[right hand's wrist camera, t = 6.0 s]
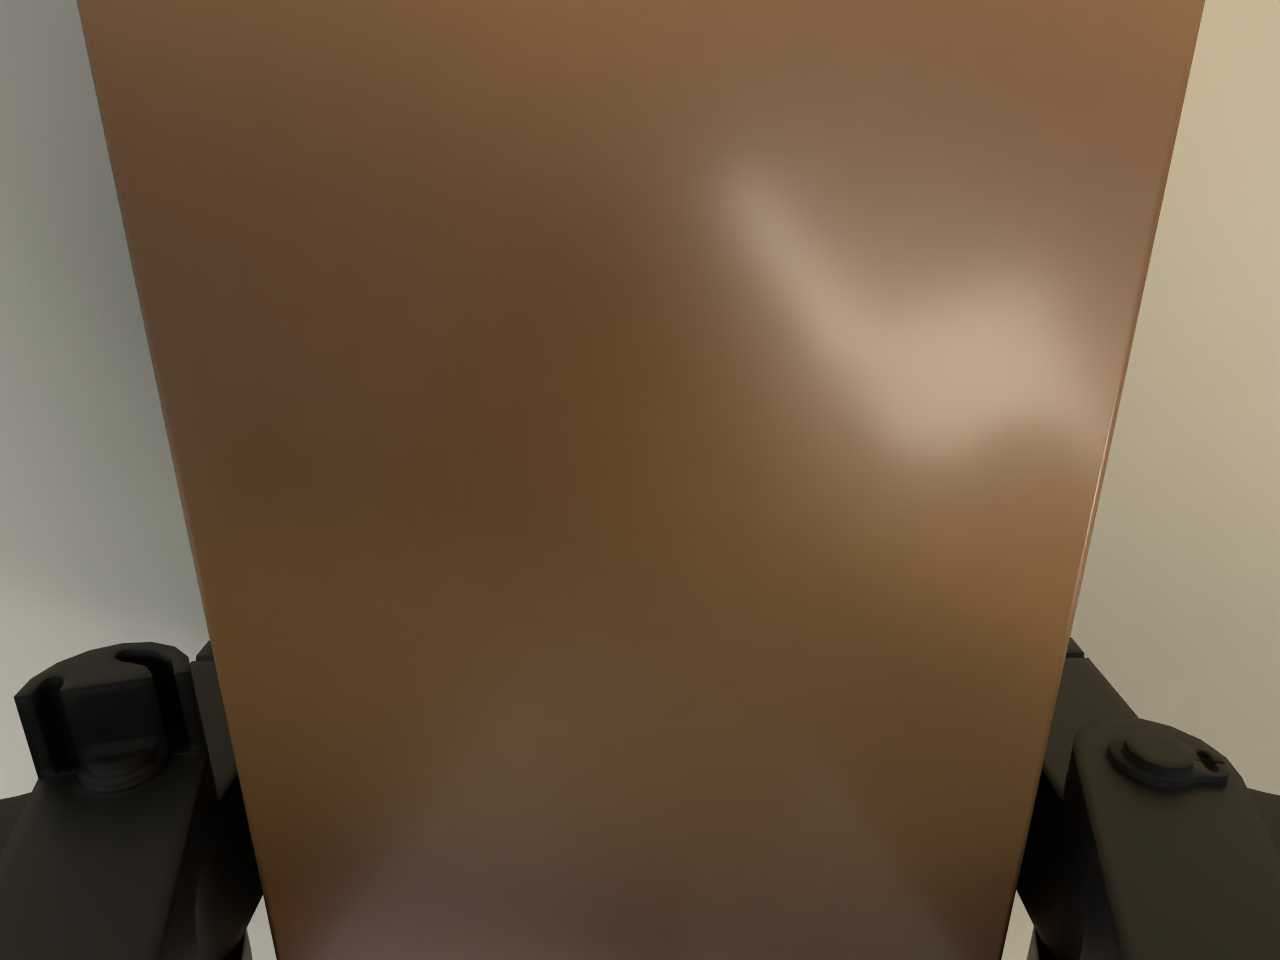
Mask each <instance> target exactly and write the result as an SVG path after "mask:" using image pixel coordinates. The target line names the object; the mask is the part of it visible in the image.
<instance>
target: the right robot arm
mask: <svg viewBox="0 0 1280 960" xmlns="http://www.w3.org/2000/svg"><path fill="white" fill-rule="evenodd" d="M14 700H15V703H16V706H17V710H18V713H19V716H20V719H21V723H22V726H23V729H24V733H25V736H26V739H27V742H28V746H29V749H30V752H31V756H32V759H33V762H34V766H35V769H36V772H37V775H38V781H37V783H36V785H35V787H34V789H33V791H32V792H31V793H27V794H23V795H20V796H16V797H11V798H6V799H1V800H0V960H252V953H251V947H250V942H249V938H248V933H247V926H248V924H249V922H250V920H251V918H252V916H253V914H254V912H255V910H256V908H257V906H258V904H259V902H260V900H261V898H262V895H263V891H262V886H261V881H260V877H259V872H258V867H257V862H256V857H255V853H254V848H253V843H252V838H251V833H250V829H249V824H248V819H247V814H246V809H245V805H244V800H243V795H242V790H241V785H240V781H239V776H238V771H237V766H236V761H235V757H234V752H233V747H232V742H231V737H230V733H229V728H228V723H227V718H226V714H225V709H224V704H223V699H222V694H221V690H220V685H219V680H218V675H217V670H216V666H215V661H214V656H213V651H212V646H211V642H210V641H208V642H207V644H206V645H205V646H204V647H203V648H202V650H201V651H200V652H199V653H198V654H197V656H196V661H192V662H191V663H189V658H188V656H187V655H185V654H184V653H183V652H181V651H180V650H179V649H177V648H176V647H174V646H169V645H164V644H159V643H154V642H141V643H121V644H117V645H112V646H108V647H103V648H98V649H94V650H89V651H87V652H84V653H82V654H79V655H76V656H74V657H71V658H69V659H66V660H63V661H61V662H58V663H56V664H55V665H53V666H51V667H50V668H48V669H46V670H45V671H43V672H41V673H40V674H38V675H37V676H35V677H33V678H32V679H30V680H29V681H28V682H27V683H26V685H25V686H24V687H23V688H22V689H21V690H20V691H19V692H18V693H17V694H16V695H15V696H14ZM1016 890H1017V892H1018V894H1019V896H1020V898H1021V900H1022V902H1023V904H1024V906H1025V908H1026V910H1027V912H1028V914H1029V916H1030V918H1031V920H1032V923H1033V925H1034V928H1033V933H1032V938H1031V942H1030V947H1029V952H1028V956H1027V960H1280V796H1279V795H1275V794H1270V793H1265V792H1261V791H1257V790H1253V789H1249V788H1247V787H1246V785H1245V783H1244V781H1243V779H1242V777H1241V776H1240V775H1239V773H1238V772H1237V771H1236V769H1235V768H1234V767H1233V766H1232V764H1231V763H1230V762H1229V761H1228V759H1227V758H1226V757H1224V756H1223V755H1222V754H1220V753H1219V752H1217V751H1216V750H1215V749H1213V748H1212V747H1210V746H1209V745H1208V744H1206V743H1205V742H1203V741H1202V740H1200V739H1198V738H1196V737H1194V736H1191V735H1189V734H1187V733H1185V732H1182V731H1180V730H1178V729H1176V728H1173V727H1171V726H1167V725H1164V724H1160V723H1156V722H1152V721H1148V720H1144V719H1140V718H1138V717H1137V715H1136V714H1135V713H1134V712H1133V711H1132V709H1131V708H1130V707H1129V706H1128V705H1127V704H1126V702H1125V701H1124V700H1123V699H1122V698H1121V696H1120V695H1119V694H1118V693H1117V692H1116V690H1115V689H1114V688H1113V687H1112V686H1111V684H1110V683H1109V682H1108V681H1107V680H1106V678H1105V677H1104V676H1103V675H1102V674H1101V673H1100V671H1099V670H1098V669H1097V668H1096V667H1095V665H1094V664H1093V663H1092V662H1091V661H1090V659H1089V658H1084V652H1083V651H1082V650H1081V649H1080V647H1079V646H1078V645H1077V644H1076V643H1075V641H1074V640H1073V639H1072V638H1071V637H1070V638H1069V643H1068V648H1067V652H1066V657H1065V662H1064V667H1063V671H1062V676H1061V681H1060V685H1059V690H1058V695H1057V700H1056V704H1055V709H1054V714H1053V718H1052V723H1051V728H1050V732H1049V737H1048V742H1047V747H1046V751H1045V756H1044V761H1043V765H1042V770H1041V775H1040V780H1039V784H1038V789H1037V794H1036V798H1035V803H1034V808H1033V813H1032V817H1031V822H1030V827H1029V831H1028V836H1027V841H1026V845H1025V850H1024V855H1023V860H1022V864H1021V869H1020V874H1019V878H1018V883H1017V888H1016Z"/></svg>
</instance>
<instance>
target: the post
mask: <svg viewBox="0 0 1280 960" xmlns="http://www.w3.org/2000/svg"><path fill="white" fill-rule="evenodd" d="M1204 3H1205V0H77V4H78V8H79V13H80V18H81V23H82V28H83V32H84V37H85V42H86V47H87V52H88V56H89V61H90V66H91V71H92V76H93V80H94V85H95V90H96V95H97V100H98V104H99V109H100V114H101V119H102V124H103V128H104V133H105V138H106V143H107V148H108V152H109V157H110V162H111V167H112V172H113V176H114V181H115V186H116V191H117V196H118V200H119V205H120V210H121V215H122V220H123V224H124V229H125V234H126V239H127V244H128V248H129V253H130V258H131V263H132V267H133V272H134V277H135V282H136V287H137V291H138V296H139V301H140V306H141V311H142V315H143V320H144V325H145V330H146V335H147V339H148V344H149V349H150V354H151V359H152V363H153V368H154V373H155V378H156V383H157V387H158V392H159V397H160V402H161V407H162V411H163V416H164V421H165V426H166V431H167V435H168V440H169V445H170V450H171V455H172V459H173V464H174V469H175V474H176V479H177V483H178V488H179V493H180V498H181V502H182V507H183V512H184V517H185V522H186V526H187V531H188V536H189V541H190V546H191V550H192V555H193V560H194V565H195V570H196V574H197V579H198V584H199V589H200V594H201V598H202V603H203V608H204V613H205V618H206V622H207V627H208V632H209V637H210V642H211V646H212V651H213V656H214V661H215V666H216V670H217V675H218V680H219V685H220V690H221V694H222V699H223V704H224V709H225V714H226V718H227V723H228V728H229V733H230V737H231V742H232V747H233V752H234V757H235V761H236V766H237V771H238V776H239V781H240V785H241V790H242V795H243V800H244V805H245V809H246V814H247V819H248V824H249V829H250V833H251V838H252V843H253V848H254V853H255V857H256V862H257V867H258V872H259V877H260V881H261V886H262V891H263V896H264V901H265V905H266V910H267V915H268V920H269V925H270V929H271V934H272V939H273V944H274V949H275V953H276V958H277V960H1001V958H1002V954H1003V949H1004V944H1005V940H1006V935H1007V930H1008V926H1009V921H1010V916H1011V911H1012V907H1013V902H1014V897H1015V893H1016V888H1017V883H1018V878H1019V874H1020V869H1021V864H1022V860H1023V855H1024V850H1025V845H1026V841H1027V836H1028V831H1029V827H1030V822H1031V817H1032V813H1033V808H1034V803H1035V798H1036V794H1037V789H1038V784H1039V780H1040V775H1041V770H1042V765H1043V761H1044V756H1045V751H1046V747H1047V742H1048V737H1049V732H1050V728H1051V723H1052V718H1053V714H1054V709H1055V704H1056V700H1057V695H1058V690H1059V685H1060V681H1061V676H1062V671H1063V667H1064V662H1065V657H1066V652H1067V648H1068V643H1069V638H1070V634H1071V629H1072V624H1073V619H1074V615H1075V610H1076V605H1077V601H1078V596H1079V591H1080V587H1081V582H1082V577H1083V572H1084V568H1085V563H1086V558H1087V554H1088V549H1089V544H1090V539H1091V535H1092V530H1093V525H1094V521H1095V516H1096V511H1097V506H1098V502H1099V497H1100V492H1101V488H1102V483H1103V478H1104V473H1105V469H1106V464H1107V459H1108V455H1109V450H1110V445H1111V441H1112V436H1113V431H1114V426H1115V422H1116V417H1117V412H1118V408H1119V403H1120V398H1121V393H1122V389H1123V384H1124V379H1125V375H1126V370H1127V365H1128V360H1129V356H1130V351H1131V346H1132V342H1133V337H1134V332H1135V328H1136V323H1137V318H1138V313H1139V309H1140V304H1141V299H1142V295H1143V290H1144V285H1145V280H1146V276H1147V271H1148V266H1149V262H1150V257H1151V252H1152V247H1153V243H1154V238H1155V233H1156V229H1157V224H1158V219H1159V215H1160V210H1161V205H1162V200H1163V196H1164V191H1165V186H1166V182H1167V177H1168V172H1169V167H1170V163H1171V158H1172V153H1173V149H1174V144H1175V139H1176V134H1177V130H1178V125H1179V120H1180V116H1181V111H1182V106H1183V101H1184V97H1185V92H1186V87H1187V83H1188V78H1189V73H1190V69H1191V64H1192V59H1193V54H1194V50H1195V45H1196V40H1197V36H1198V31H1199V26H1200V21H1201V17H1202V12H1203V7H1204Z"/></svg>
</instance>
